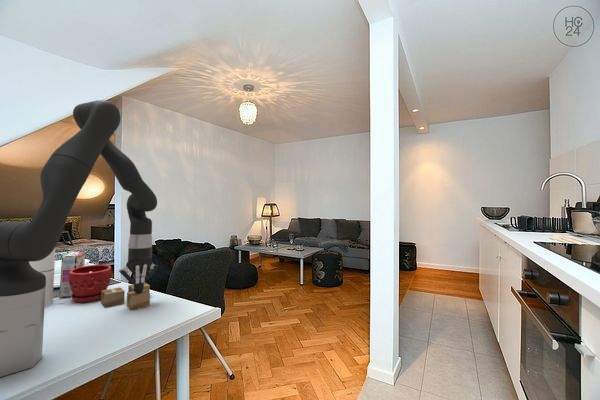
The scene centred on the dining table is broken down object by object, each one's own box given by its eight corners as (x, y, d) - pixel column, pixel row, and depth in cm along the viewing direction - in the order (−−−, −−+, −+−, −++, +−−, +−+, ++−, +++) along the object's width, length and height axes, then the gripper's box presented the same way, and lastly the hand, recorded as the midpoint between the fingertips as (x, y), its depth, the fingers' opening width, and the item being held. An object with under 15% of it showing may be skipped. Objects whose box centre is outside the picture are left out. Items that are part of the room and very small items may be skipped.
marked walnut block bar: (124, 304, 99) (124, 290, 99) (104, 308, 95) (105, 293, 95) (119, 299, 103) (120, 286, 103) (100, 303, 99) (101, 290, 99)
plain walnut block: (149, 306, 97) (150, 293, 98) (130, 311, 93) (131, 296, 93) (144, 302, 102) (145, 289, 102) (126, 306, 97) (127, 292, 97)
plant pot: (67, 297, 104) (69, 267, 104) (108, 291, 113) (109, 263, 113) (67, 307, 94) (69, 274, 95) (112, 299, 103) (113, 269, 103)
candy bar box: (74, 297, 105) (76, 255, 105) (58, 298, 103) (60, 256, 103) (84, 288, 115) (85, 251, 115) (69, 289, 113) (71, 251, 113)
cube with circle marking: (149, 297, 107) (149, 284, 107) (132, 301, 102) (132, 288, 102) (144, 294, 111) (144, 281, 111) (127, 297, 106) (128, 284, 106)
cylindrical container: (19, 309, 92) (23, 237, 92) (34, 301, 98) (37, 235, 99) (44, 307, 94) (48, 237, 94) (57, 300, 100) (60, 235, 101)
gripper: (122, 249, 91) (120, 299, 90) (163, 245, 100) (161, 291, 100) (116, 246, 96) (114, 294, 95) (156, 243, 105) (154, 286, 105)
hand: (138, 292), depth 98 cm, fingers closed
